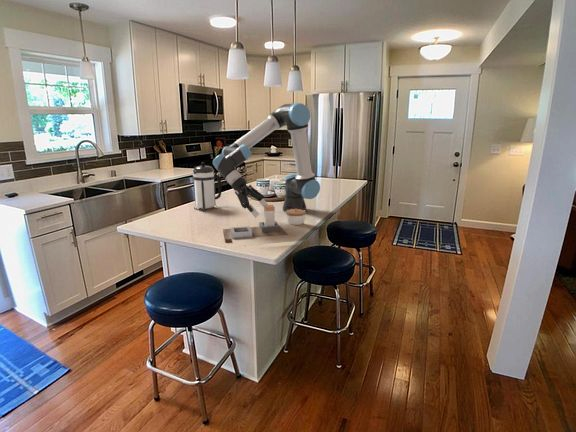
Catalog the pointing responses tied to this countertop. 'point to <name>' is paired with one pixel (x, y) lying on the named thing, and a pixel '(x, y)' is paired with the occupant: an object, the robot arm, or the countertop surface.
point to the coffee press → (205, 187)
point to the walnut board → (254, 233)
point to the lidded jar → (295, 216)
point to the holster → (269, 227)
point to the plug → (269, 215)
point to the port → (241, 232)
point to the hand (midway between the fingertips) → (263, 212)
